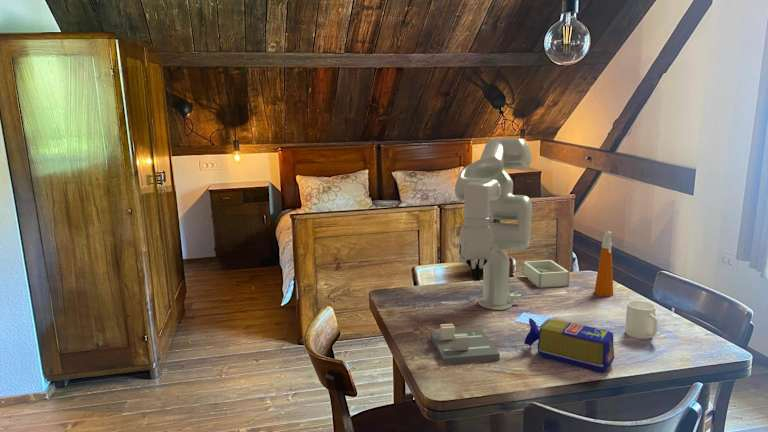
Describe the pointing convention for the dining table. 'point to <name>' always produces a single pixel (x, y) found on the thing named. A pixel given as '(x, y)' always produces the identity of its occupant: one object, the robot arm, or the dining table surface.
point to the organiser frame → (546, 279)
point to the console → (477, 350)
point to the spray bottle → (605, 268)
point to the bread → (573, 344)
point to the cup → (641, 320)
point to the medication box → (542, 270)
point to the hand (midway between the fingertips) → (475, 279)
